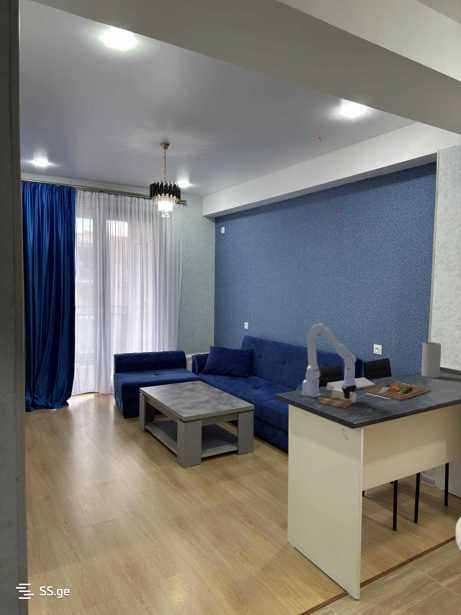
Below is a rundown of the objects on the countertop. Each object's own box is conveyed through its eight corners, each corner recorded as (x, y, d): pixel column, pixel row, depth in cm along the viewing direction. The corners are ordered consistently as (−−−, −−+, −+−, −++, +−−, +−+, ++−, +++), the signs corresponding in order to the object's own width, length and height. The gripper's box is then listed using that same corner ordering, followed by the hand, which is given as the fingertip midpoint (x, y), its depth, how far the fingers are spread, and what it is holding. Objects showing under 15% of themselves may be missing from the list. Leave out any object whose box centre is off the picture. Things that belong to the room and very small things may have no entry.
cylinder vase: (443, 378, 302) (444, 344, 301) (427, 378, 300) (429, 344, 299) (432, 374, 314) (434, 342, 313) (417, 374, 313) (419, 342, 311)
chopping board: (399, 402, 237) (399, 397, 237) (358, 393, 258) (358, 388, 258) (433, 390, 266) (433, 386, 266) (394, 383, 287) (394, 378, 287)
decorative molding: (373, 390, 274) (362, 383, 282) (375, 384, 273) (363, 377, 281) (336, 397, 256) (326, 389, 264) (338, 390, 255) (327, 382, 263)
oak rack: (318, 402, 233) (318, 397, 233) (325, 399, 240) (325, 394, 240) (344, 408, 223) (344, 403, 223) (351, 404, 230) (351, 399, 230)
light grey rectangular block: (332, 397, 245) (332, 389, 244) (336, 396, 247) (336, 388, 247) (351, 402, 234) (352, 394, 233) (356, 401, 236) (356, 393, 236)
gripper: (350, 378, 229) (350, 402, 230) (361, 374, 240) (360, 397, 241) (339, 376, 233) (338, 399, 234) (349, 372, 244) (349, 395, 245)
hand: (348, 398), depth 238 cm, fingers closed on light grey rectangular block, 5 cm apart
